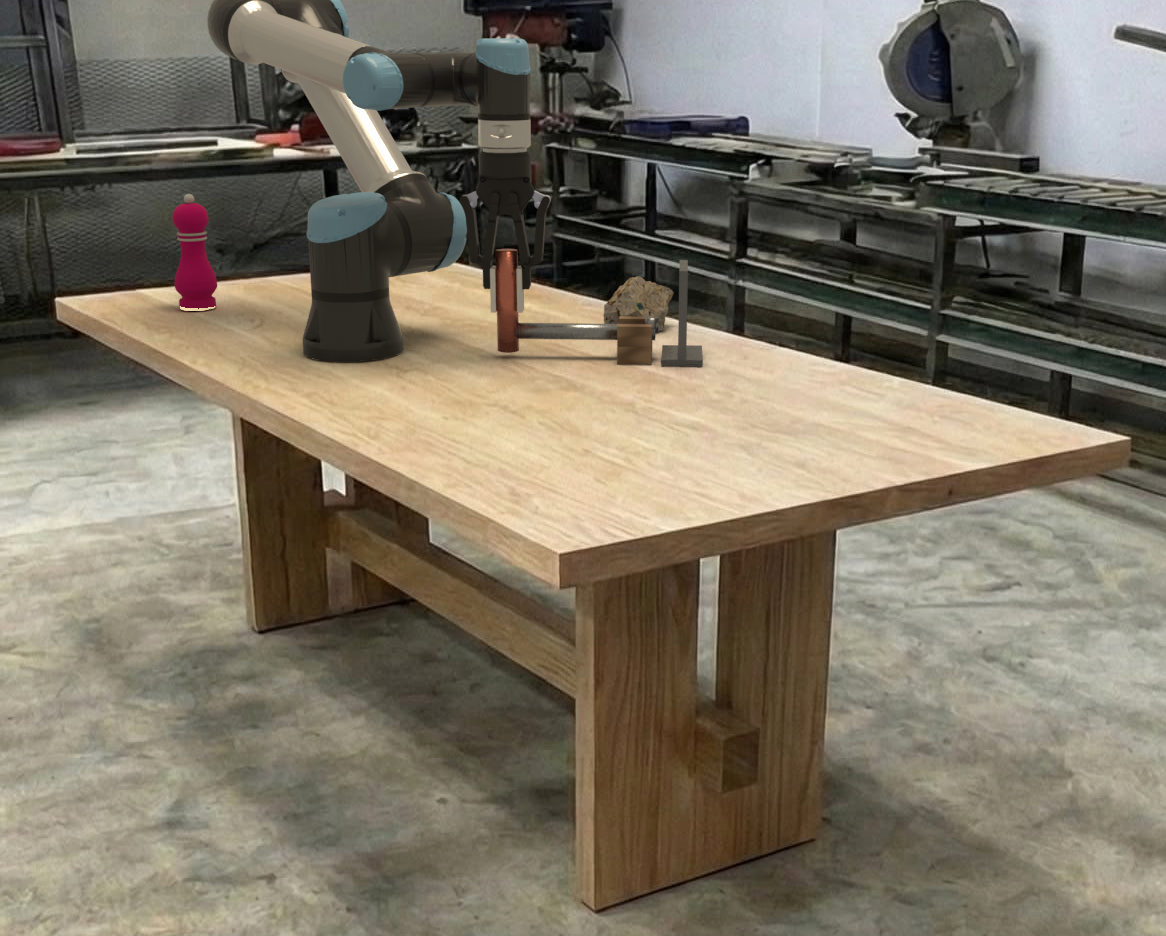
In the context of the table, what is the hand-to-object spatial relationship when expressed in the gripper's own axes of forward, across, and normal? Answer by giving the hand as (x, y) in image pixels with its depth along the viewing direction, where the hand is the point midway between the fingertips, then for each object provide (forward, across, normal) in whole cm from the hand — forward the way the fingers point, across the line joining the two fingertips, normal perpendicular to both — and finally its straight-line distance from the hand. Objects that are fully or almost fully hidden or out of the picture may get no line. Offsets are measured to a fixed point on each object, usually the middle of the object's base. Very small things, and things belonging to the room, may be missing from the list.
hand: (507, 310), depth 214 cm
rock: (+7, +20, +20) cm, 29 cm away
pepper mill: (+7, -59, +35) cm, 69 cm away
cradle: (+7, +19, 0) cm, 20 cm away
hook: (+6, +10, 0) cm, 12 cm away
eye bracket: (+7, +26, 0) cm, 27 cm away
